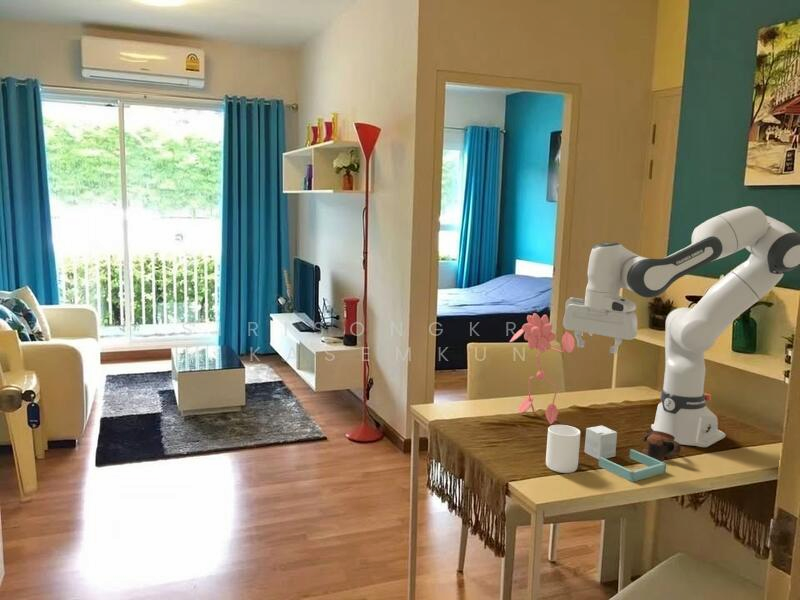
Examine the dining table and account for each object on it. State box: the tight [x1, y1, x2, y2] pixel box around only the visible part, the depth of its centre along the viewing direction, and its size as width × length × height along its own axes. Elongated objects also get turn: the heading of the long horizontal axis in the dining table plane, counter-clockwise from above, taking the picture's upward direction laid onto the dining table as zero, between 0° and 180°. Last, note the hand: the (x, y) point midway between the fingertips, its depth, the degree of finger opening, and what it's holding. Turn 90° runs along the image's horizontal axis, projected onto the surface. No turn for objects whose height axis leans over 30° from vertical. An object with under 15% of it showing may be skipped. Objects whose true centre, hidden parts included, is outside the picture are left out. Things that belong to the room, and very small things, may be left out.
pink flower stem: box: [509, 312, 576, 432], centre depth 204 cm, size 15×26×35 cm, turn 39°
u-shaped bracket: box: [598, 448, 667, 483], centre depth 171 cm, size 13×11×2 cm
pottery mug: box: [642, 429, 682, 463], centre depth 180 cm, size 12×10×8 cm
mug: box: [545, 424, 581, 474], centre depth 172 cm, size 12×8×10 cm
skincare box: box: [584, 425, 618, 461], centre depth 180 cm, size 6×6×7 cm
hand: (596, 350), depth 180 cm, fingers open, 8 cm apart
